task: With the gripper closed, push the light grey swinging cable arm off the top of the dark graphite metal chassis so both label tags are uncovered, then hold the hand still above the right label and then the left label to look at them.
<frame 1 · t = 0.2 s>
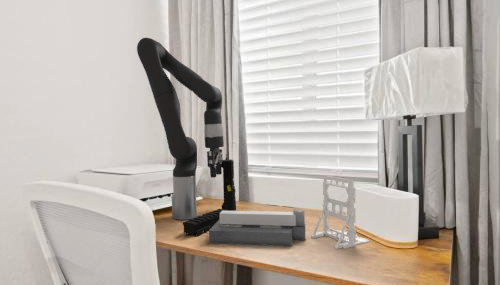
hand: (216, 175, 134), 17 cm above the table, tool pointing down, fingers open, 8 cm apart
rail mount: (206, 229, 121), on the table
chassis: (253, 236, 110), on the table
cable arm: (261, 216, 110), point 7 cm above the table, hinge at 0.0°
film strip holder: (340, 240, 106), on the table
portable radio: (229, 212, 146), on the table
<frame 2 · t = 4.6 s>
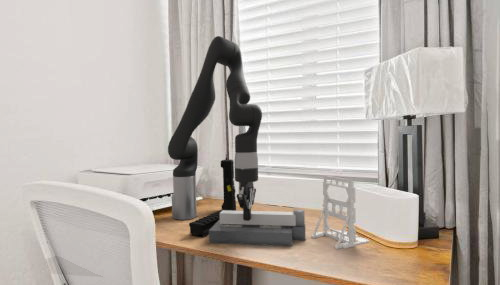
hand: (247, 220, 107), 6 cm above the table, tool pointing down, fingers closed
rail mount: (211, 230, 120), on the table
cable arm: (261, 216, 110), point 7 cm above the table, hinge at -0.4°, touching gripper
everything else where it was.
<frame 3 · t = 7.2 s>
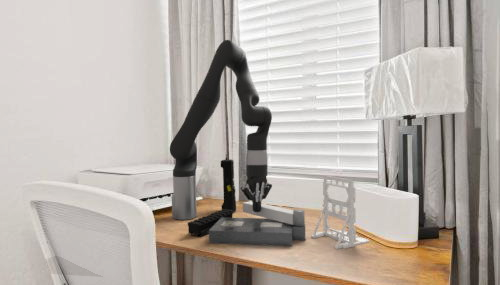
hand: (256, 211, 117), 7 cm above the table, tool pointing down, fingers closed
cable arm: (272, 211, 117), point 7 cm above the table, hinge at -39.3°, touching gripper
everything else where it was.
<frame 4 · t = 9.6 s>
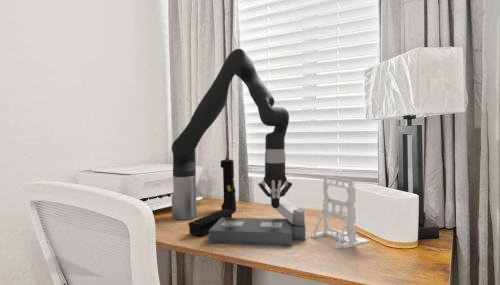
hand: (275, 207, 123), 6 cm above the table, tool pointing down, fingers closed
cable arm: (287, 209, 120), point 7 cm above the table, hinge at -70.0°, touching gripper
everything else where it was.
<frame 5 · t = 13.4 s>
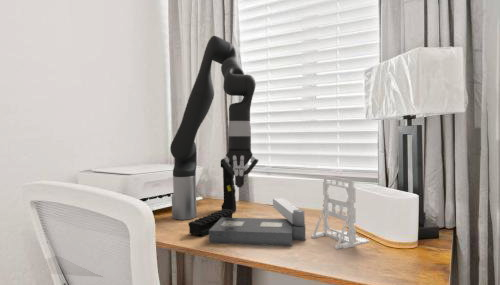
hand: (239, 186, 111), 17 cm above the table, tool pointing down, fingers closed
cable arm: (287, 209, 120), point 7 cm above the table, hinge at -70.1°
everything else where it was.
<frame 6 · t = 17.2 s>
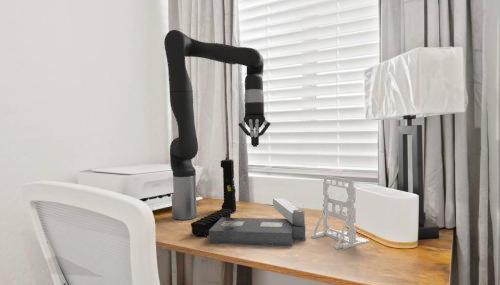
hand: (255, 146, 130), 29 cm above the table, tool pointing down, fingers closed
at the end: cable arm at -70° (first picture: +0°) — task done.
